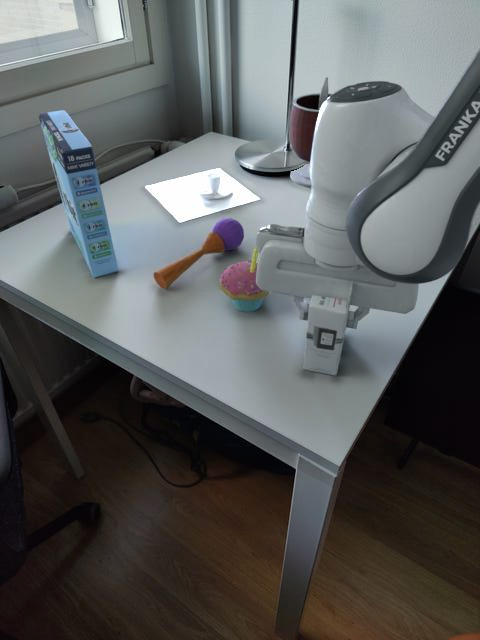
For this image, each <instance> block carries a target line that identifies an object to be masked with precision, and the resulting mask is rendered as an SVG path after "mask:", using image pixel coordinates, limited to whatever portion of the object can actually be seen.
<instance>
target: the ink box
mask: <svg viewBox="0 0 480 640" xmlns="http://www.w3.org/2000/svg"><path fill="white" fill-rule="evenodd" d="M352 288H353V280H352V283H351V287H350V293H349V298H348V302H347V301H345V300H341V299H335V298H330V297H323V296H315V295H313V296H312V298H310V302H309V304H310V306H309V315H308V321H307V324H306V325H307V326H306V335H305V345H304V354H303V364H302V369H303V370H305V371H310V372H314V373H320V374H325V375H330V376H337V374H338V370H339V365H340V361H341V357H342V356H341V355H342V351H343V345H344V340H345V336H346V330H347V327H346V324H347V318H348V313H349V311H350V307H351V305H350V299H351V293H352Z"/></svg>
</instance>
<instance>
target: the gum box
mask: <svg viewBox="0 0 480 640" xmlns="http://www.w3.org/2000/svg"><path fill="white" fill-rule="evenodd" d="M37 116H38V120H39V122H40V127H41V131H42V134H43V137H44V142H45V144H46V148H47V152H48V156H49V159H50V163H51V166H52V170H53V174H54V177H55V181H56V184H57V188H58V192H59V196H60V199H61V202H62V206H63V210H64V214H65V216H66V220H67V223H68V227H69V230H70V232H71V234H72V237H73V238H74V240H75V242H76V244H77V246H78V248H79V250H80V252H81V254H82V256H83V258H84V261H85V263H86V265H87V267H88V269H89V271H90V274H91V276H92V277H93V278H94V279H96V278H100V277H103V276H106V275H110V274H114V273H117V272H119V266H118V261H117V258H116V253H115V248H114V243H113V239H112V234H111V229H110V225H109V220H108V216H107V215H108V214H107V211H106V210H107V209H106V206H105V202H104V197H103V193H102V187H101V182H100V178H99V174H98V170H97V164H96V160H95V159H96V158H95V155H94V149H93V145H92V144H91V143H90V142H89V140H88V139H87V137H86V136H85V135H84V134H83V133H82V131H81V129H80V128H79V127H78V126H77V124H76V123H75V122H74V120H73V119H72V118H71V116H70V115H69V113H68V112H67V111H66V110H65V109H62V110H56V111H48V112H42V113H38V114H37Z"/></svg>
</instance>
